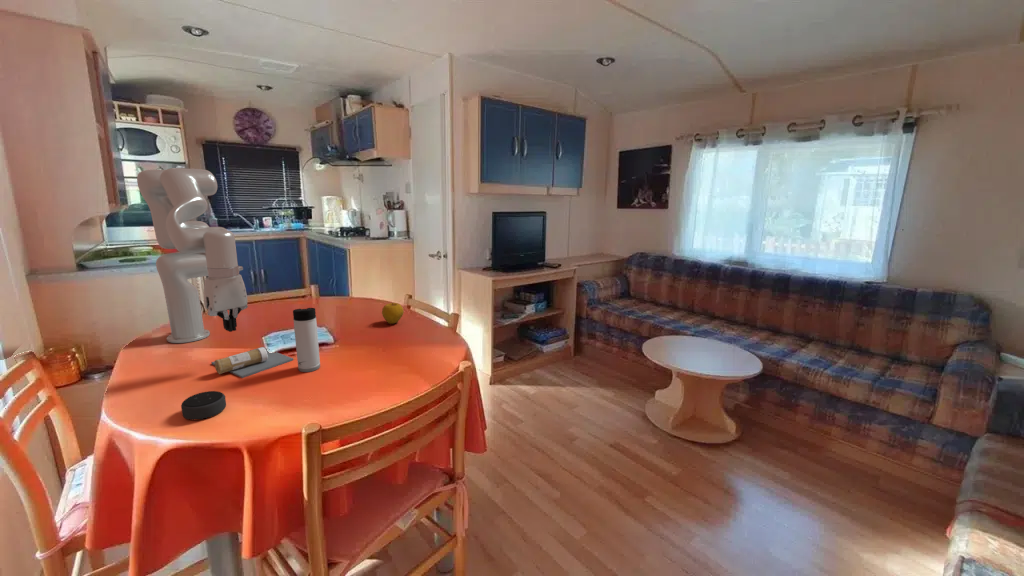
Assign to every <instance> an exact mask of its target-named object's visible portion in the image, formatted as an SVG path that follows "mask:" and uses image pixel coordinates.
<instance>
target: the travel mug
mask: <svg viewBox="0 0 1024 576" xmlns="http://www.w3.org/2000/svg"><path fill="white" fill-rule="evenodd" d="M316 314H317V313H316V308H315V307H307V308H295V309H293V310H292V316H293V329H294V338H295V347H296V348H295V349H296V358H297V359H296V361H297V370H298V371H299V372H303V373H312V372H315V371H317V370H319V369H320V368H321V361H320V360H321V359H320V347H319V338H318V337H319V336H318V334H319V333H318V324H317V323H318V322H317V315H316Z"/></svg>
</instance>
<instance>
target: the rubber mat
mask: <svg viewBox="0 0 1024 576" xmlns="http://www.w3.org/2000/svg"><path fill="white" fill-rule="evenodd" d="M262 347H263V348H265V349H266V351H267V349H268V347H267V348H266V347H264V346H261V347H257V348H254V349H251V350H248V351H246V352H249V351H252V350H256V349H258V348H262ZM275 352H276V353H269V352H268V351H267V355H268V359H267V360H266V361H264V362H258V363H255V364H251V365H248V366H245V367H242V368H238V369H235V370H231V371H228V373H230V374H232V375H234V376H236V377H240V378H241V379H244V378H247V377H249V376H253V375H254V374H258V373H261V372H263V371H266V370H270V369H272V368H274V367H278V366H281V365H283V364H287V363H289V362H292V361H294V357H290V356H287V355H285V354H282V353H280V352H277V351H275ZM211 365H213V366H215V360H214V361H211Z"/></svg>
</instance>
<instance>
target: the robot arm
mask: <svg viewBox="0 0 1024 576" xmlns="http://www.w3.org/2000/svg"><path fill="white" fill-rule="evenodd" d="M136 182H137V183H136V184H137V187H138V190H139V192H140V194H141V196H142V198H143V199H144V201H145V203H146V205H147V206H148V208H149V211H150V215H151V219H152V225H153V228H154V233H155V238H156V242H157V244H158V246H159V247H160V248H162V249H165V250H177V251H178V252H172V253H170V252H169V253H165V254H163V255H161V256H159V257H157V259H156V261H155V266H156V271H157V273H158V276H159V278H160V281H161V284H162V287H163V293H164V299H165V303H166V309H167V315H168V321H169V327H170V334H169V335H168V336H167V337H166V341H167V342H168V343H171V344H185V343H191V342H195V341H196V342H198V341H200V340H203V339H205V338H206V339H207V338H208V337H209V336H210V334H211V333H210V330H209V329H205V327H204V322H203V321H204V320H203V316H202V315H203V314H202V313H203V312H202V307H201V301H200V294H199V289H198V288H197V287H196V286H195V285H194V284H192V283H191V282H190V281H189V279H193V278H195V279H196V278H201V277H202V278H203V277H205V279H204V286H203V288H204V289H203V299H204V307H205V309H206V310H207V315H208V316H209V317H219V318H220V319H222V324H223V329H224V330H225V331H227V332H230V333H231V332H234V331H237V327H238V323H237V318H238V315H239V314H240V313H241V311H243V310H246V309H248V308H249V306H248V295H247V289H246V284H245V281H244V280H243V277H242V274H240V272H241V271H243V270H244V267H243V266H242V265H241V266H240V265H239V264H238V255H237V248H236V246H237V245H236V237H235V233H233V232H232V231H231V230H228V229H227V228H225V227H222V226H209V224H207V223H206V222H204V221H199V220H193V219H195V218H198V217H200V216H202V215H203V214H204V213H206V211H207V209H208V202H207V200H206V198H205V196H213V195H215V194H216V193H217V190H218V182H217V178H216V177H215V175H214V174H213V173H212V172H211V171H209V170H207V169H201V168H182V167H173V168H167V169H146V170H142V171H140V172H139V173H138V174H137V175H136Z"/></svg>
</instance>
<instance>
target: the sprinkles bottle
mask: <svg viewBox="0 0 1024 576" xmlns="http://www.w3.org/2000/svg"><path fill="white" fill-rule="evenodd" d="M261 347H262V348H260V347H257V348H258V349H257V348H255V349H256V350H254V349H251V350H252V351H250V350H248V351H249V352H247V351H244V352H240V353H237V354H234V355H230V356H226V357H223V358H219V359H215V360H214V361H215V365H214V367H215V371H216V372H217V374H218V375H222V374H224V373H227V372H228V371H231V370H235V369H238V368H242V367H245V366H248V365H251V364H255V363H258V362H264V361H266V360H267V359H268V355H267V351H266V349H265V348H266V347H264V346H261ZM263 347H264V348H263ZM228 373H229V372H228Z"/></svg>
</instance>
